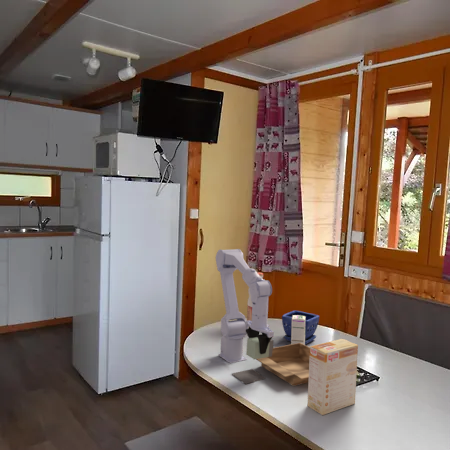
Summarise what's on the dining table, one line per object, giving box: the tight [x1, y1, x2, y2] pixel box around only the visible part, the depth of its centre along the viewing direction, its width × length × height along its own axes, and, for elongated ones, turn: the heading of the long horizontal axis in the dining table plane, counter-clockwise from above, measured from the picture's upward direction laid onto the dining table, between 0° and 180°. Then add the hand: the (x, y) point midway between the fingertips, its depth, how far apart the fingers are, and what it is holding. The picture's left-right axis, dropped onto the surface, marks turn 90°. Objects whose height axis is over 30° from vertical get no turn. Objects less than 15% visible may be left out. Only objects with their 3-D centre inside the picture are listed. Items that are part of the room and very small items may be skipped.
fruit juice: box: [246, 271, 264, 329], centre depth 207 cm, size 9×9×28 cm
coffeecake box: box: [307, 338, 359, 416], centre depth 133 cm, size 15×7×20 cm, turn 123°
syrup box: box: [290, 315, 306, 345], centre depth 181 cm, size 6×6×14 cm
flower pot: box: [281, 310, 320, 345], centre depth 193 cm, size 13×13×12 cm
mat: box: [231, 368, 267, 385], centre depth 153 cm, size 9×9×1 cm
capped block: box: [245, 337, 274, 360], centre depth 153 cm, size 5×8×6 cm, turn 122°
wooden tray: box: [255, 343, 310, 387], centre depth 156 cm, size 23×23×6 cm
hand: (258, 350), depth 153 cm, fingers closed on capped block, 5 cm apart
